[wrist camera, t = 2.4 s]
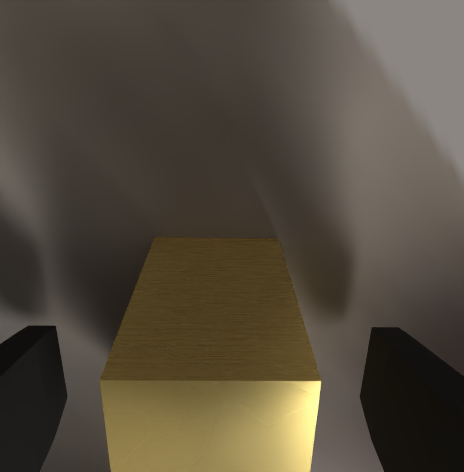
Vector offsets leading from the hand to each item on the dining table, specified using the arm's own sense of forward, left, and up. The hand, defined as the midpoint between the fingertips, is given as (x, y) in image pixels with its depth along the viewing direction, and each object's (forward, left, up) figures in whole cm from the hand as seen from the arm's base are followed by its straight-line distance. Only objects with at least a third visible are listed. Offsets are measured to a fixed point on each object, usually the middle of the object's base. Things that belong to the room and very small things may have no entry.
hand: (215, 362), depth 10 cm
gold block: (0, 0, -2) cm, 2 cm away
